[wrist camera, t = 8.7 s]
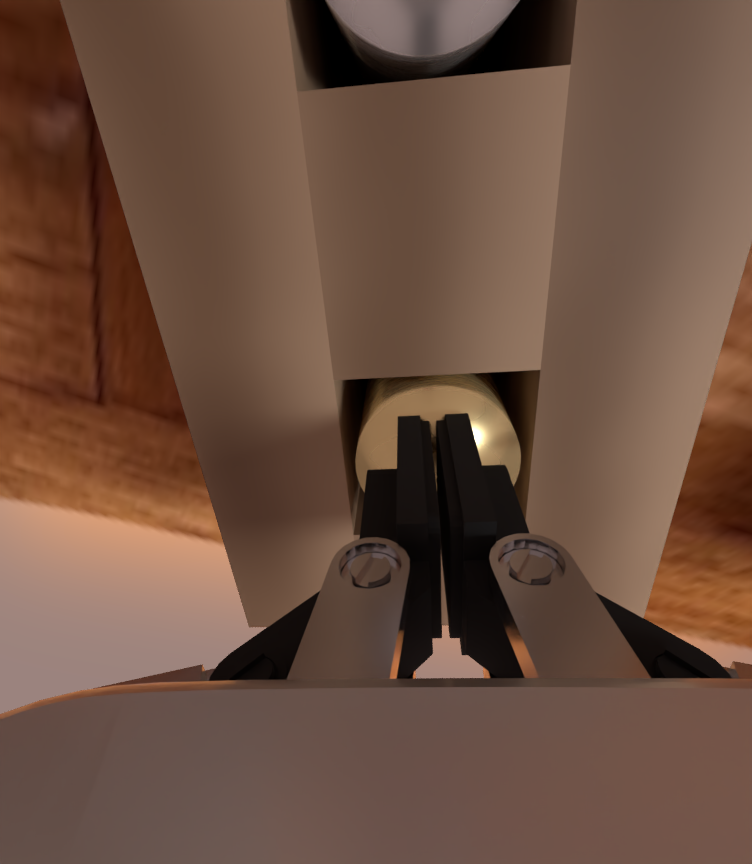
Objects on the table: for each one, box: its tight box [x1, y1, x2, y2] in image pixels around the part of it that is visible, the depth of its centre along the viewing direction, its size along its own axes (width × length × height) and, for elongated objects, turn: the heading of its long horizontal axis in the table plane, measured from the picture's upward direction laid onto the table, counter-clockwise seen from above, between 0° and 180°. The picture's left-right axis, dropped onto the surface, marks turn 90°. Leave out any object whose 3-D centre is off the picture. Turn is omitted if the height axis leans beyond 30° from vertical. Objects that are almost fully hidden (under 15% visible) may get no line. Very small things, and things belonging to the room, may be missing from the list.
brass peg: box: [355, 372, 521, 493], centre depth 15 cm, size 4×4×8 cm
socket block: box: [60, 0, 752, 627], centre depth 13 cm, size 12×22×9 cm, turn 4°
